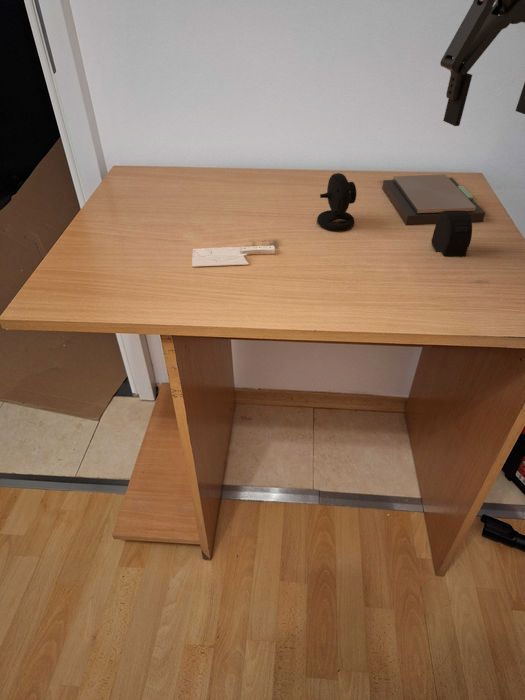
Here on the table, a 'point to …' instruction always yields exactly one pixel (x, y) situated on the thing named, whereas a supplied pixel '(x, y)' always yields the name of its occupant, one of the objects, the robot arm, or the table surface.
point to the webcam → (338, 203)
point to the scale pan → (433, 193)
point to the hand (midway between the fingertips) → (488, 118)
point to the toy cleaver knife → (227, 255)
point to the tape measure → (452, 233)
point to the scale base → (423, 218)
